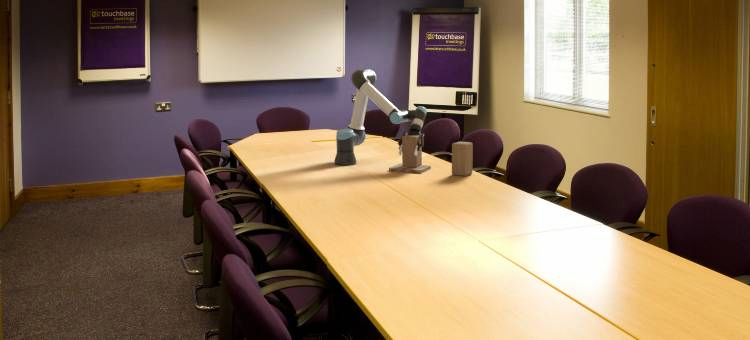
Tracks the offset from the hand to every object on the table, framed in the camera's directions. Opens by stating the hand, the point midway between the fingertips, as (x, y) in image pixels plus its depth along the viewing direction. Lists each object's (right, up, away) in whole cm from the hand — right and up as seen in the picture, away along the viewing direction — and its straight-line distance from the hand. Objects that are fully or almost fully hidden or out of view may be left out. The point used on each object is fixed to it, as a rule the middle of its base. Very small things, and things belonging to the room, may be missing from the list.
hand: (407, 154), depth 449 cm
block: (+34, -13, -11) cm, 38 cm away
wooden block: (+4, -8, +9) cm, 12 cm away
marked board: (+2, -10, +7) cm, 12 cm away
